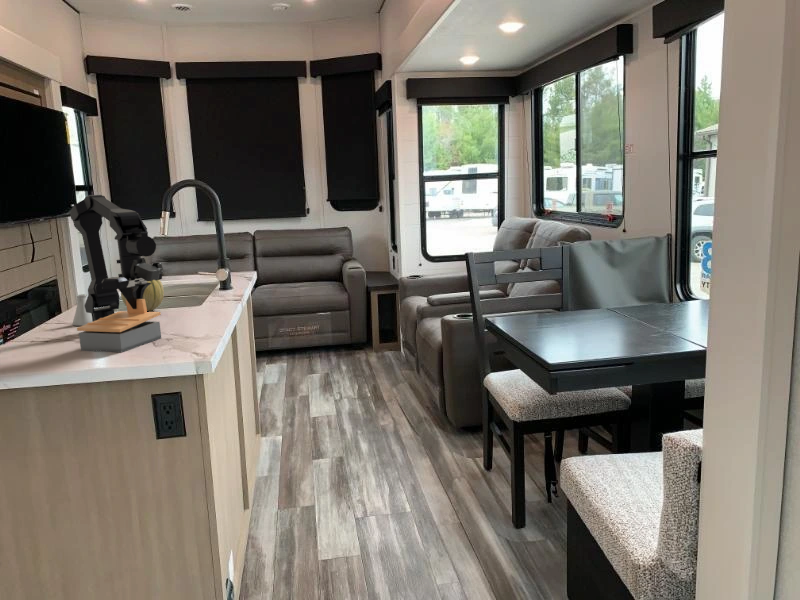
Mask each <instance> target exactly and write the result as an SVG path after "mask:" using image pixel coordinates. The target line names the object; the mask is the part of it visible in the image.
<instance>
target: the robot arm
mask: <svg viewBox="0 0 800 600" xmlns="http://www.w3.org/2000/svg"><path fill="white" fill-rule="evenodd" d="M69 214H70V219H71V220H72V223H73V227H74V228H75V229H76V231H78V232H79V233H80V234H81V236H82V241H83V245H84V251H85V255H86V259H87V265H88V269H89V270H88V271H89V274H90V275H89V276H90V280H91V281H90V283H89V285H88V288H87V296H86V303H85V310H86V312H87V313H91V314H92V321H93V322H94V321H96V320H99V318H104V317H106V316H109V315H111V314H114V313H115V310H118V309H120V294H121V293H122V294H123V295H124V297H125V298H126V300H127V301H128V303H129V304H130V305H131V307H132V308H133V309H136V308H137V301H136V299H143V294H144V291H145V289H146V288H147V287H148V286H149V285H150V284H151V283H147V281H152V280H160V281H161V280H163V273H164V268H163V264H162V263H161V262H159V261H156V262H153V263H150V264H149V263H147V262H146V261H147V260H146V259H145V257H146V258H147V257H151V256H152V255H153V254H155V252H156V249H157V244H156V242H155V240H154V239H153V238H152V237H150V236H149V234H148V233H149V231H148V228H147V226H146V224H145V223H144V221H143V220H142V217H141V215H140V214H139V212H137V211H135V210H131V209H127V208H126V209H125V208H121V207H120V206H119V205H116V204H115V203H114V202H112V201H110V200H109V199H107V198H106V196H105V195H103V194H89V195H87V196H85V198H83V200H80V201H79V202H76V203H75V204H74V205H73V206H72V207H71V209H70V212H69ZM103 218H104V219H106V220H107V221H108V222H109V227H110V228H111V229H112V230H113V231H114V232H115V233H116V235H115V236H114V240H116V242H117V248H118V255H119V256H118V257H119V259H116V264H120V270H121V271H120V272H121V273H118V276H112V277H109V275H108V271H107V266H106V260H105V256H104V251H103V246H102V241H101V238H100V236H101V235H100V230H101V227H102V225H103ZM118 290H119V291H118ZM119 292H120V293H119Z"/></svg>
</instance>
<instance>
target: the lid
mask: <svg viewBox="0 0 800 600" xmlns="http://www.w3.org/2000/svg"><path fill="white" fill-rule="evenodd" d="M125 301H126V305H125V306H126V311H125V310H124V311H123V310H122V311H121V310H119V311H117V312H114V314H111V315H109V316H106V317H104V318H99V320H96V321H94V322H91V323H87V324H86V325H81V326H78V327H76V331H78V332H84V331H92V332H122V331H125V330H127V329H129V328H132V327H134V326H136V325H138V324H141V323H143V322H145V321H150V320H152V319H154V318H157V317H158V316H161V314H162V313H161V311H149V312H147V308H146V302H145V299H136V301H137V308H136V309H133V308H132V307H131V305H130V304H129V303H128V301H127V300H125Z"/></svg>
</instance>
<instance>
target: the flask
mask: <svg viewBox="0 0 800 600" xmlns="http://www.w3.org/2000/svg"><path fill="white" fill-rule="evenodd" d="M87 297H88V293H87V294H85V293H81V294H77V295H76V294H75V298H76V308H75V313H74V317H73V319H72V324H71V325H73V326H78V327H81V326H83V325H86V324H87V323H91V322H93V321H92V314H91V313H87V312H86V310H85V303H86V300H87Z"/></svg>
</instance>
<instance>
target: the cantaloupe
mask: <svg viewBox="0 0 800 600" xmlns="http://www.w3.org/2000/svg"><path fill="white" fill-rule="evenodd" d="M147 283H151V284H150V285H149V286H148V287H147V288H146V289H145V291H144V294H143V299H145V302H146V308H147V311H149V312H153V311H154V310H155V309H158V307H159V306H161V304H162V302H163V300H164V295H165V291H164V290H165V288H164V285H163V283H162V281H161V280H152V281H147ZM120 297H121V301H122V303H124V305H125V306H126V301H125V300H126V298H125V297H124V295H123V294H122V293H121V292H120Z"/></svg>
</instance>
